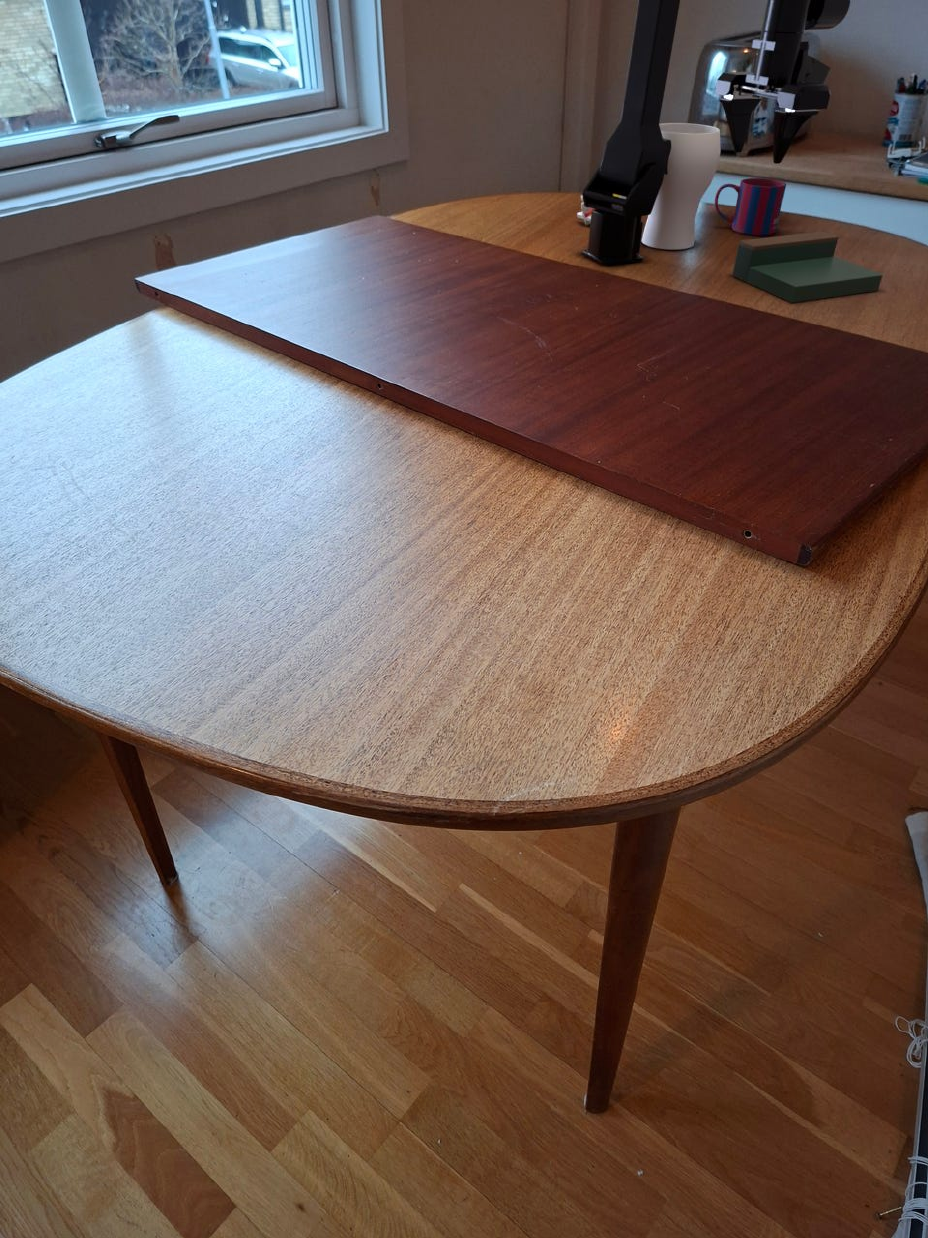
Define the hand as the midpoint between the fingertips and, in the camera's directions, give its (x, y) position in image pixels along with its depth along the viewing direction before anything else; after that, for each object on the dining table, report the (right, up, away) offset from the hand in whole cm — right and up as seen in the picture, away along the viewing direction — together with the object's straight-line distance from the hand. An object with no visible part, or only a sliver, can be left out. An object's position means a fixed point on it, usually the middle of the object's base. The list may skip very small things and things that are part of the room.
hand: (757, 157), depth 127 cm
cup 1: (-14, -13, -1) cm, 19 cm away
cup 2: (0, -8, +6) cm, 10 cm away
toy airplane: (-22, -6, +8) cm, 24 cm away
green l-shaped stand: (+1, -25, -16) cm, 30 cm away
